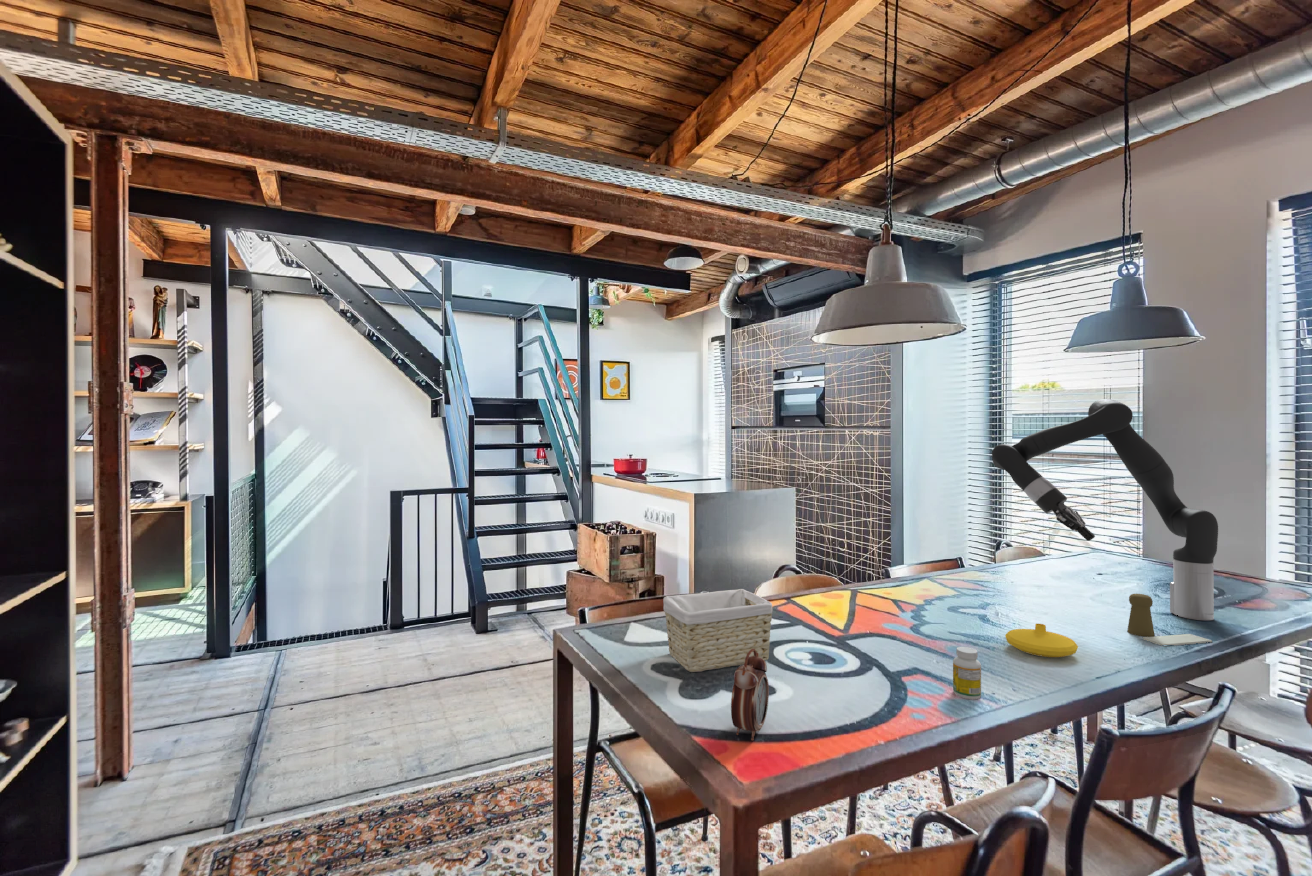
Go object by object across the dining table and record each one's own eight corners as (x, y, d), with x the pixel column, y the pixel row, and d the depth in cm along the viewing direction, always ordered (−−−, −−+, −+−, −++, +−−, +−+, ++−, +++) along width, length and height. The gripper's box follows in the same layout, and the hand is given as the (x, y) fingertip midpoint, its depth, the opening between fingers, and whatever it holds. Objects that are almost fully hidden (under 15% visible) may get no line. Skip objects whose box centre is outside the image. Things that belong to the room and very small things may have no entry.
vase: (1066, 645, 157) (1066, 619, 157) (1088, 667, 142) (1088, 637, 142) (998, 639, 162) (998, 613, 162) (1013, 659, 147) (1013, 631, 147)
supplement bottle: (978, 702, 122) (978, 656, 122) (950, 695, 126) (949, 650, 126) (983, 694, 126) (983, 649, 126) (956, 687, 130) (956, 643, 130)
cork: (1159, 637, 163) (1159, 597, 163) (1134, 636, 164) (1134, 596, 164) (1146, 630, 169) (1146, 592, 169) (1122, 629, 170) (1122, 591, 170)
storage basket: (685, 676, 136) (685, 612, 136) (660, 652, 151) (660, 595, 151) (775, 663, 144) (775, 602, 144) (743, 642, 159) (743, 587, 159)
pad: (1142, 639, 162) (1142, 637, 162) (1189, 635, 165) (1189, 633, 165) (1163, 646, 156) (1164, 644, 156) (1212, 642, 159) (1212, 640, 159)
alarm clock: (754, 747, 104) (754, 662, 104) (728, 741, 106) (728, 658, 106) (769, 721, 114) (770, 643, 114) (745, 716, 116) (745, 639, 116)
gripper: (1047, 487, 179) (1096, 533, 169) (1061, 485, 187) (1109, 529, 178) (1027, 503, 183) (1074, 549, 173) (1042, 501, 191) (1088, 544, 182)
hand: (1091, 538), depth 176 cm, fingers closed
